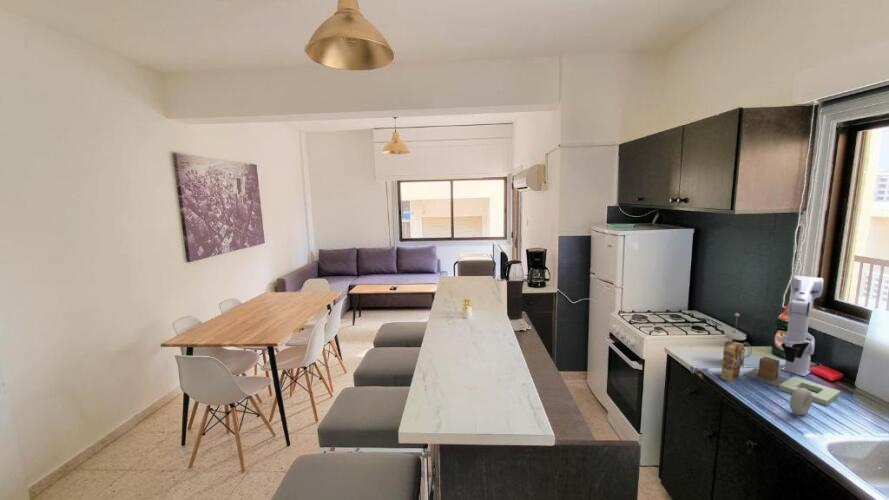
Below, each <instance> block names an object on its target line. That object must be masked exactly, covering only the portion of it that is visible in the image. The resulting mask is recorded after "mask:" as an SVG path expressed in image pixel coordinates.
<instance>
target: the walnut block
mask: <svg viewBox="0 0 889 500" xmlns="http://www.w3.org/2000/svg"><path fill="white" fill-rule="evenodd" d="M779 368H780V360H779V359H775V358H772V357H769V356H763V357H761V358H759V362H758V369H759V372H758V376H759V377H762V378H765V379H768V380H771V381H773V380H775V379H777V378H778V375H779V370H780V369H779Z"/></svg>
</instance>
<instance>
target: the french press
mask: <svg viewBox="0 0 889 500" xmlns="http://www.w3.org/2000/svg"><path fill="white" fill-rule="evenodd" d="M734 316H735V318H736V319H735V325H738V324H737V323H738V322H737V321H738V317H740V314H739V313H738V312H736V313H734ZM736 331H737V328H735V331H732V332H725V333H724V337H726V338H727V339H730V340H734V341H733V342H736V341H744V342H742V343H741V344H743V346H742V354H741V363H740V369H742V368H741V367H744V366H745V365H746V364H745V362H744V361H745V358H748V357H750V356H751V355H752V349H753V348H752V346H751V345H750V344H749V343H748V342H747V341H745V340H746V339H747V337H746V336H744V335H743V334H740V333H739V332H736ZM730 342H731V341H725V342H724V345H723V347H724V346H725V345H727V344H729V343H730ZM745 346H746V347H747V348H748V350H750V352H748V353H747V355H746V356H745ZM722 354H724V351H723V353H722ZM722 362H723V358H722V359H720V361H719V363H720V364H722Z"/></svg>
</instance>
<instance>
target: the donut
mask: <svg viewBox="0 0 889 500" xmlns="http://www.w3.org/2000/svg"><path fill="white" fill-rule="evenodd" d="M810 391H811V390H810V389H806V388H803V387H800V388H798V389H796V390H795V391H794V392H793V394H791V396H790V400H789V408H790V410H791V411H792V412H793V414H796V415H799V416H802V415H805V414H807V413H808V411H810V409H811V406H812V405H813V401H812V394H811V392H812V391H811V392H810Z"/></svg>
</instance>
